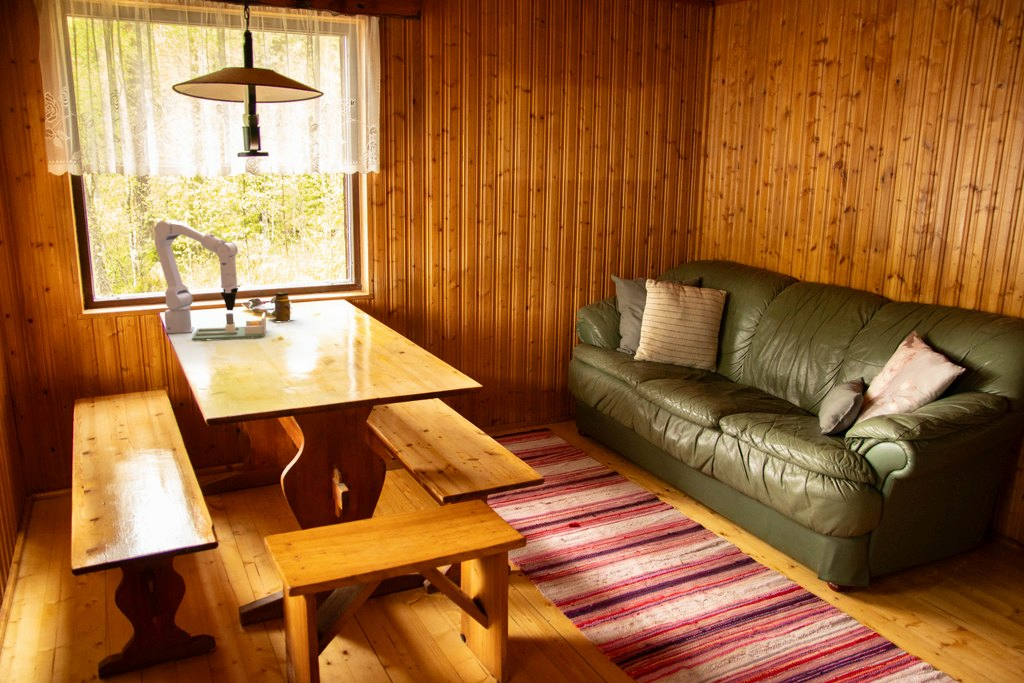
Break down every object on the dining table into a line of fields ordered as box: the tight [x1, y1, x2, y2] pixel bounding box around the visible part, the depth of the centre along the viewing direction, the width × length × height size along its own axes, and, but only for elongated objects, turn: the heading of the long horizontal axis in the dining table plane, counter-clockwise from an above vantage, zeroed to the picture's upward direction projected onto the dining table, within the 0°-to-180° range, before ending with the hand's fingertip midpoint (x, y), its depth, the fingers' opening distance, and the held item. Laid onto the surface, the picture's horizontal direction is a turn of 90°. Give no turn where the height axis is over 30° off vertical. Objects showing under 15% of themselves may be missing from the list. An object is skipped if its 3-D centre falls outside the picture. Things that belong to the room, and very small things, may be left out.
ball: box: [250, 320, 260, 326], centre depth 323 cm, size 4×4×4 cm
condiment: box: [268, 291, 291, 323], centre depth 348 cm, size 7×8×12 cm
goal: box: [244, 312, 267, 335], centre depth 323 cm, size 8×12×6 cm, turn 15°
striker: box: [225, 312, 236, 332], centre depth 321 cm, size 3×6×7 cm, turn 15°
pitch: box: [191, 326, 265, 341], centre depth 321 cm, size 26×18×2 cm
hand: (230, 308), depth 320 cm, fingers open, 7 cm apart
